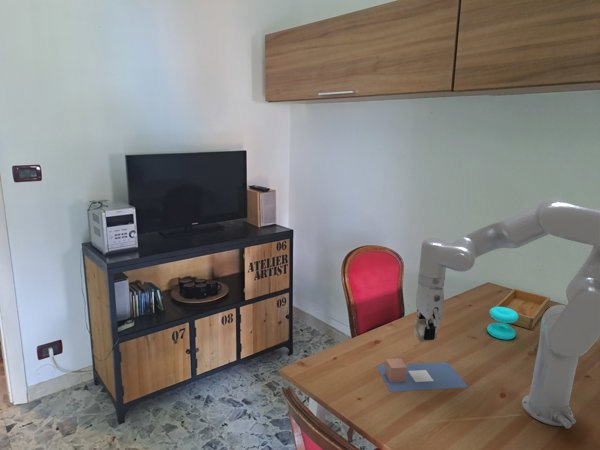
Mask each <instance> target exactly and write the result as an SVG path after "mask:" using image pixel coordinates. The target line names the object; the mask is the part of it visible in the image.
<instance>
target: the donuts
mask: <svg viewBox="0 0 600 450" xmlns="http://www.w3.org/2000/svg"><path fill="white" fill-rule="evenodd" d="M489 315H490V317H491V318H492V319H493V320H495V321H497V322H492V323H489V325H488V326H487V329H486V330H487V333H488V334H490V336H492V337H494V338H496V339H500V340H504V341H505V340H506V341H507V340H512V339H514V338H515V337H516V334H517V333H516V331H515V328H513V327H512V326H511V325H509V324H511V323H513V322H515V321H517V320H518V314H517V313H516V312H515V311H513V310H512V309H509V308H505V307H495V306H494V307H492V308H490V310H489Z"/></svg>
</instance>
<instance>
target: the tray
mask: <svg viewBox="0 0 600 450" xmlns="http://www.w3.org/2000/svg"><path fill="white" fill-rule="evenodd" d="M550 301H551V297H549V296H547V295H546V296H545V295H540V294H538V293H537V294H536V293H534V292H530V291H525V290H521V289H517V288H513V289H512V290H511V291H510V292H509V293H508V294H507V295H505V296H504V297H503V298H502V299H501V300H500V301H499V302H498V303H497V304H496V305H495V306H494V307H505V308H509V309H512V310H513V311H515V312H516V313H517V314H518V320H517V321H515V322H513V323H510V324H511V325H515V326H518V327H521V328H524V329H527V330H533V328H534V326H535V325H536V324H537V323H538V322H539V320H540V319H541V317H543V315H544V313H545V312H546V311H547V310H548V309H549V306H550ZM546 309H547V310H546ZM545 310H546V311H545Z"/></svg>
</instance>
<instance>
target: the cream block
mask: <svg viewBox="0 0 600 450" xmlns="http://www.w3.org/2000/svg"><path fill="white" fill-rule="evenodd" d="M432 322H433V320H430V323H432ZM425 327H426V318H425V319H419V318H417V319H416V318H415V320H414V330H413V335H414V336H415V337H416V338H417V339H418V341H419V342H420V343H422V342H423V343H425V342H426V343H427V342H437V334H438V327H439V326H437V328H436V330H435V338H434V340H424V331H425Z"/></svg>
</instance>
